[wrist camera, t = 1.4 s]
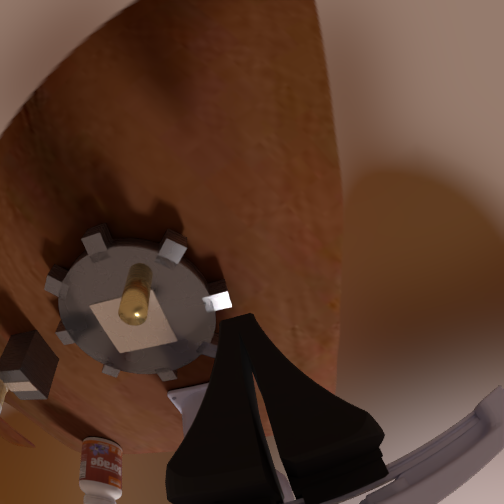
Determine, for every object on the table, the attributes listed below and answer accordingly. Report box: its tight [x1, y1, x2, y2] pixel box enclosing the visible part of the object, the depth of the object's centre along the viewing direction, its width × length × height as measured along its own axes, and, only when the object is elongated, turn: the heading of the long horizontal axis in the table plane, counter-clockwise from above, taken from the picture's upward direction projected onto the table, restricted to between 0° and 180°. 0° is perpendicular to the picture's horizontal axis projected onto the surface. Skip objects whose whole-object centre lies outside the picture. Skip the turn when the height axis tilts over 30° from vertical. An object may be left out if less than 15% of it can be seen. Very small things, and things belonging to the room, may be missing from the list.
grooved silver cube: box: [0, 330, 59, 400], centre depth 19 cm, size 4×4×5 cm
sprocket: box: [44, 223, 232, 381], centre depth 18 cm, size 14×14×6 cm
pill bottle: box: [79, 437, 122, 504], centre depth 26 cm, size 6×6×11 cm
